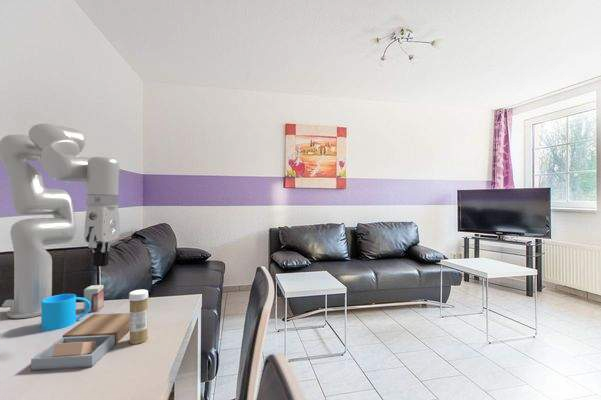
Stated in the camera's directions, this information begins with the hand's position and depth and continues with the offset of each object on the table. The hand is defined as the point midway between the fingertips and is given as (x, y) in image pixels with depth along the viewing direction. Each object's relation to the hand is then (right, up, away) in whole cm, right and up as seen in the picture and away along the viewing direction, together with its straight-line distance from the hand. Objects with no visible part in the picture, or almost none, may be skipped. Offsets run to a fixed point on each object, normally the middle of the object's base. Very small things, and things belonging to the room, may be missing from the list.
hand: (100, 265), depth 84 cm
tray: (+2, -20, -12) cm, 23 cm away
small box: (-15, -20, +19) cm, 31 cm away
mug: (-16, -20, +8) cm, 26 cm away
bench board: (0, -20, +1) cm, 20 cm away
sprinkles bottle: (+13, -20, -3) cm, 24 cm away
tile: (+3, -16, -13) cm, 20 cm away
